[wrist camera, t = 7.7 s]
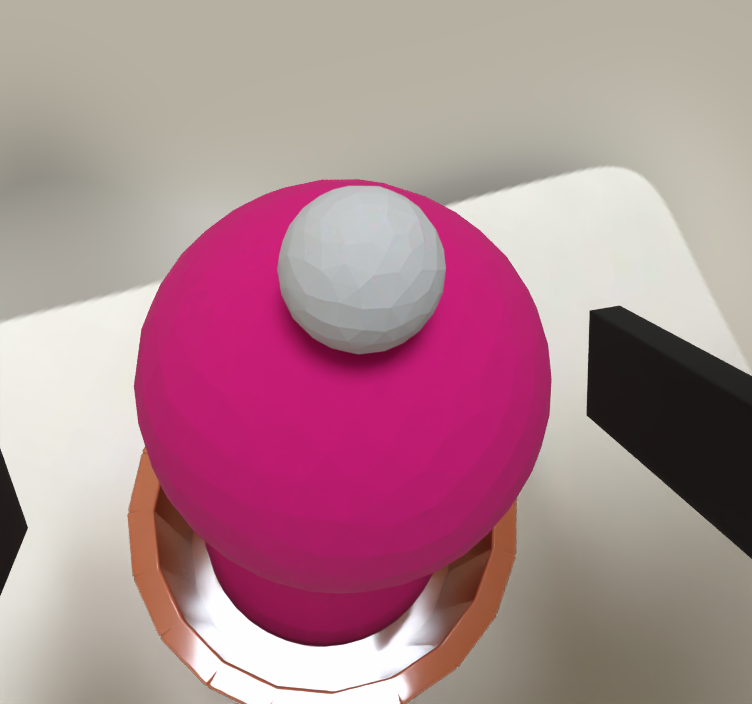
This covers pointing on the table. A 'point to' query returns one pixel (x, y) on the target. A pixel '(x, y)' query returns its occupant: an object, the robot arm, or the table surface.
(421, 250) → the pepper mill
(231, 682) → the crock
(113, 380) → the table surface
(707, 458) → the robot arm
